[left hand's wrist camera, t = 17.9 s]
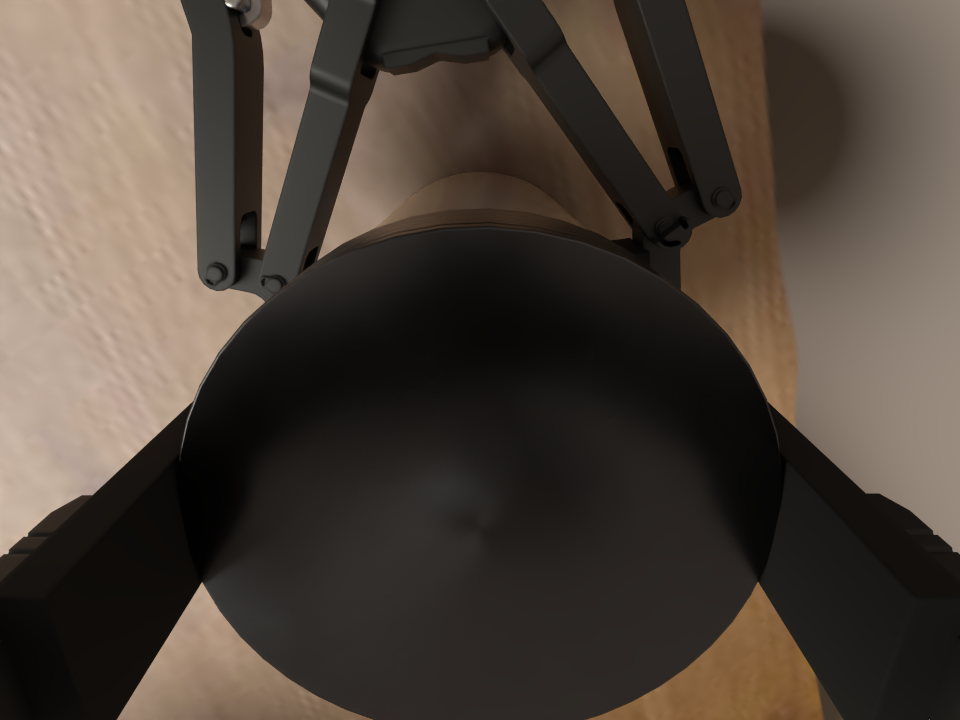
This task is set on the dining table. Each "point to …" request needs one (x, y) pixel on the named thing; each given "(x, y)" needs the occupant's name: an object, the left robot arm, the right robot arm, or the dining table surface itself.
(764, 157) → the dining table surface
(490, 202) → the jar
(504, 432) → the lid
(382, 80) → the dining table surface
